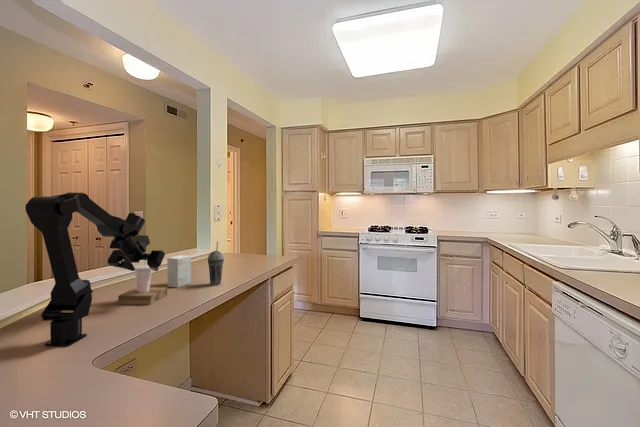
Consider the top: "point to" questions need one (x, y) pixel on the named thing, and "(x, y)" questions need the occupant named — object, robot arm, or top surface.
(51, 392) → the top surface
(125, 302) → the walnut plinth
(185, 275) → the small box
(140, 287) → the smoothie
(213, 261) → the beverage cup
